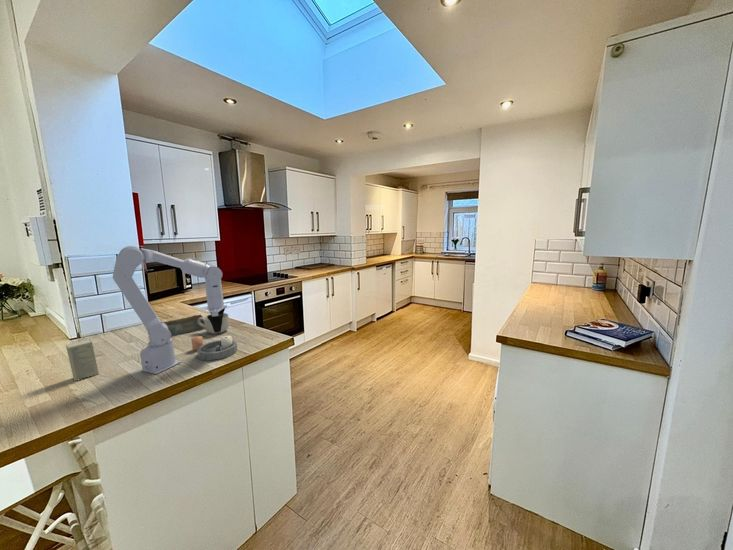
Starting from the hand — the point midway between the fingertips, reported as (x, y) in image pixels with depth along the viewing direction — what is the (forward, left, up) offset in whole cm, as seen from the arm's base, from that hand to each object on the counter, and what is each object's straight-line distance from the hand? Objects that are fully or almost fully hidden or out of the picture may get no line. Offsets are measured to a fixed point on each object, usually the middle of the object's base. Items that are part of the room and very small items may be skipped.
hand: (218, 329), depth 117 cm
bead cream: (+1, -3, -9) cm, 9 cm away
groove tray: (-2, -1, -9) cm, 9 cm away
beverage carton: (+12, +37, -10) cm, 40 cm away
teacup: (+16, +21, -10) cm, 29 cm away
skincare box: (-31, +28, -10) cm, 43 cm away
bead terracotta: (-2, +10, -9) cm, 14 cm away
